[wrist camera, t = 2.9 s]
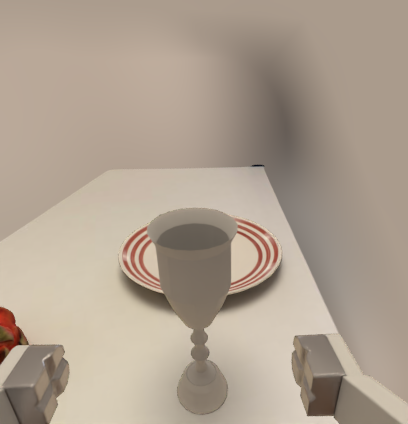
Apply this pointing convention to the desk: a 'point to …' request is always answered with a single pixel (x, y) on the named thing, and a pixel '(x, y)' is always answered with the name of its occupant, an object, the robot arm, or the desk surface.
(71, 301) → the desk surface
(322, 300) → the desk surface
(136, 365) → the desk surface
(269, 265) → the dinner plate
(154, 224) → the chalice
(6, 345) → the dragon fruit
